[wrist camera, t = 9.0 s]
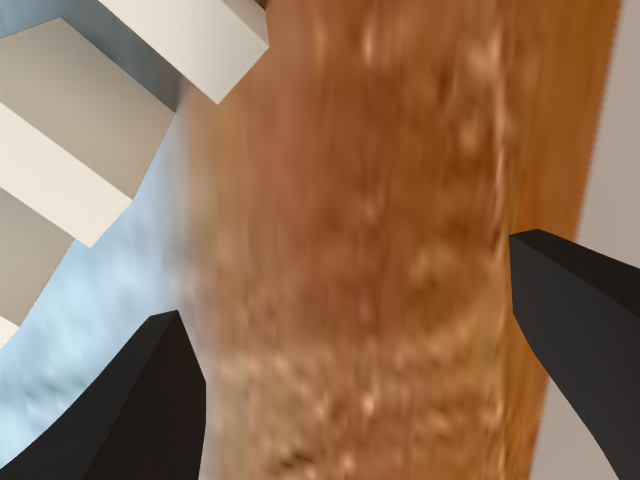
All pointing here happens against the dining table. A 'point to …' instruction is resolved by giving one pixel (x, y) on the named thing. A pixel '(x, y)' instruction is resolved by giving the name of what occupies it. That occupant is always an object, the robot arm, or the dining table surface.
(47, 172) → the domino
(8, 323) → the domino
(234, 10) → the domino
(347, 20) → the dining table surface
